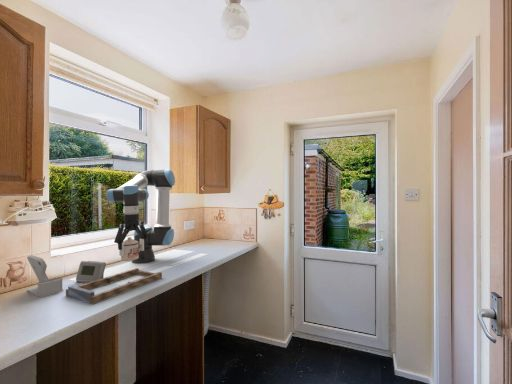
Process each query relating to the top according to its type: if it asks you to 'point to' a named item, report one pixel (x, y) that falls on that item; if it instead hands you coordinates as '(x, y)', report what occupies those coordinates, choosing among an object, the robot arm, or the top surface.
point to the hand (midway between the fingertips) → (132, 253)
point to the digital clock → (90, 271)
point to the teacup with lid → (131, 250)
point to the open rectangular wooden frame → (88, 296)
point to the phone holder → (43, 279)
